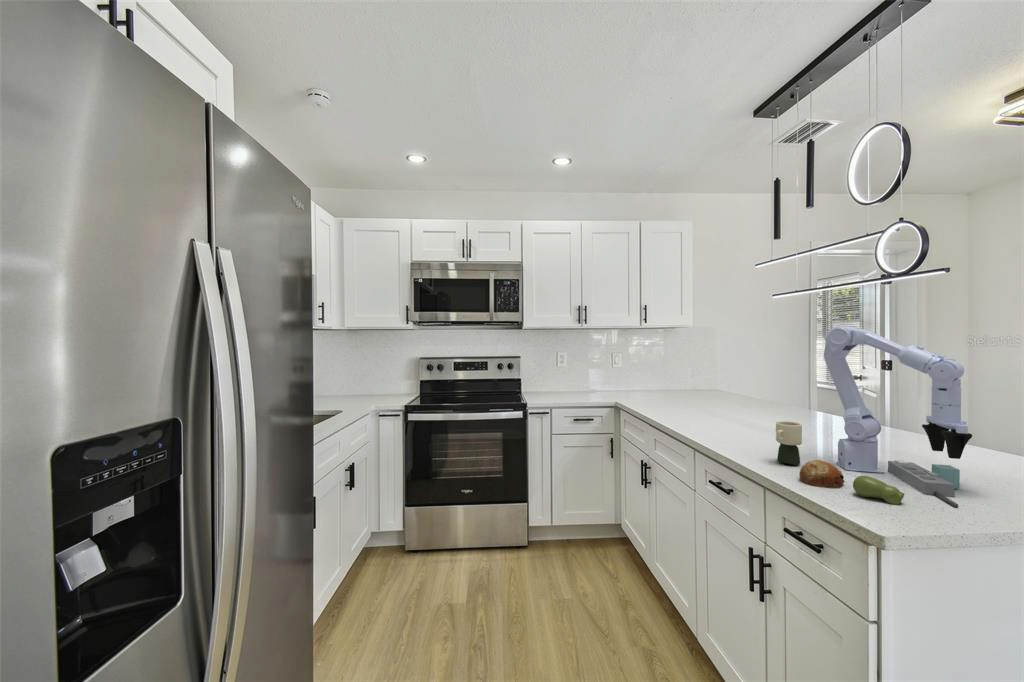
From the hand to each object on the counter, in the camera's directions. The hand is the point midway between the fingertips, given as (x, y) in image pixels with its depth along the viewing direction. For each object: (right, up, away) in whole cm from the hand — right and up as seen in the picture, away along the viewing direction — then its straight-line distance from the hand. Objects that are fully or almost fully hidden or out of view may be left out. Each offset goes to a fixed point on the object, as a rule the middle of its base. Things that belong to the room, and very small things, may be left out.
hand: (945, 454), depth 120 cm
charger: (0, -9, 0) cm, 9 cm away
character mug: (-29, -9, +22) cm, 37 cm away
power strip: (-6, -9, -1) cm, 11 cm away
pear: (-25, -9, -8) cm, 28 cm away
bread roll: (-31, -9, +4) cm, 32 cm away
